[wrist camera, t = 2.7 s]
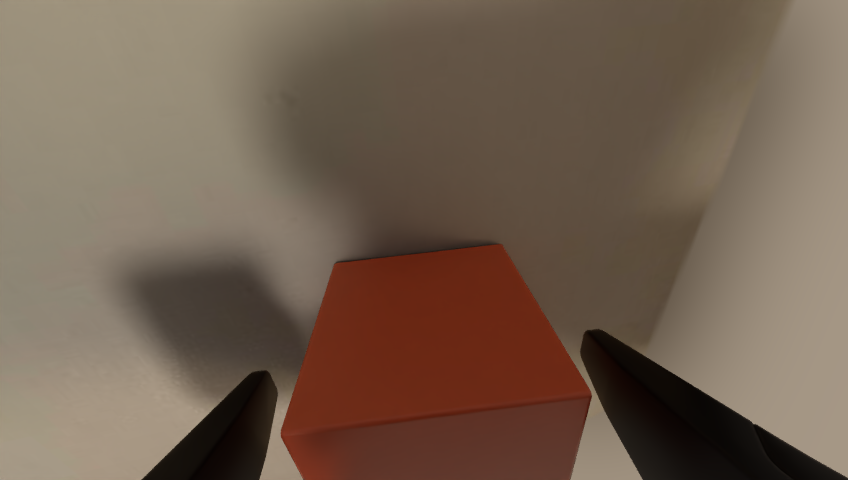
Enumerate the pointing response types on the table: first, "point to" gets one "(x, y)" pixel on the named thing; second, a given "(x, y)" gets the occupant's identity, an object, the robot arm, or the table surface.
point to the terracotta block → (435, 375)
